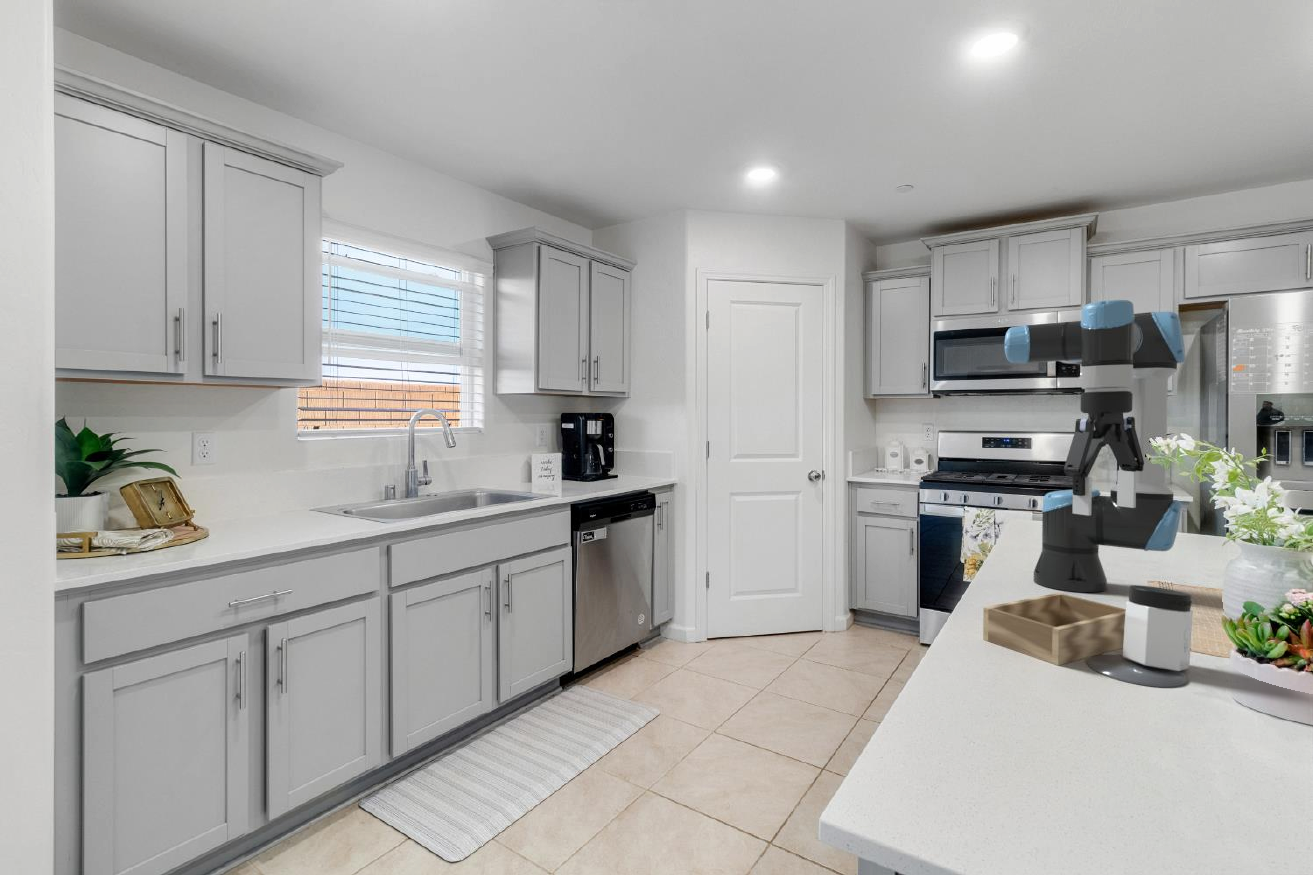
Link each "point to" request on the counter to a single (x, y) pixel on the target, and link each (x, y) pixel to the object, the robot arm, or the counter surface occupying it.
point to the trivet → (1135, 671)
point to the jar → (1158, 628)
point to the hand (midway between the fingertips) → (1104, 510)
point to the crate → (1036, 636)
